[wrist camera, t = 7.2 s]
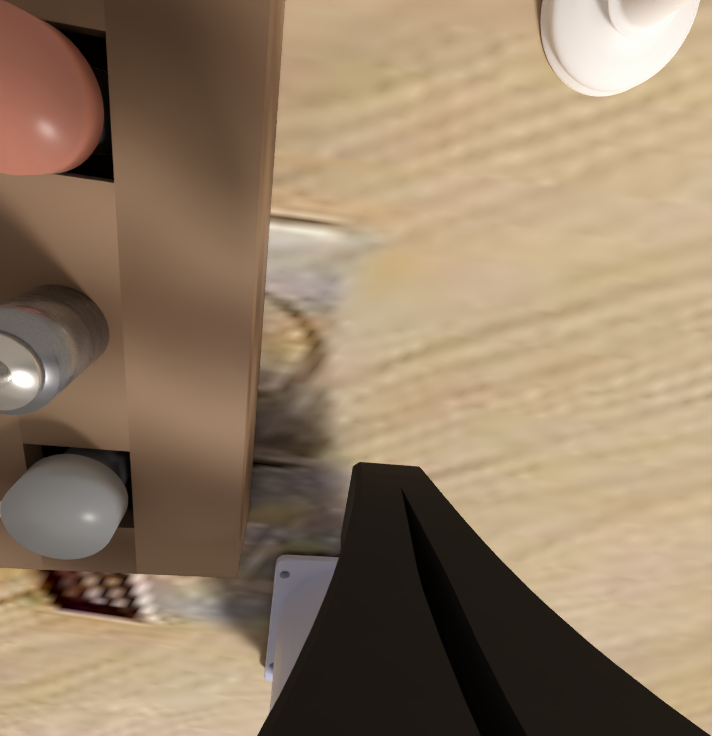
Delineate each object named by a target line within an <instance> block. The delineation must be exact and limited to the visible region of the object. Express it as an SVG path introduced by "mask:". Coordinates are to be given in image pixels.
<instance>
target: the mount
mask: <svg viewBox="0 0 712 736" xmlns="http://www.w3.org/2000/svg"><path fill="white" fill-rule="evenodd" d="M3 1H5V2H8V3H10V4H12V5H14V6H16V7H18V8H20V9H22V10H24V11H26V12H28V13H30V14H31V15H33V16H35V17H37V18H39V19H41V20H43V21H45V22H47V23H49V24H50V25H52V26H53V27H55V28H56V29H59V30H64V31H70V32H75V33H81V34H86V35H91V36H97V37H102V38H106V48H107V65H108V82H109V99H110V117H111V134H112V151H113V168H114V179H108V178H101V177H94V176H87V175H80V174H74V173H67V172H62V173H57V174H41V175H9V174H4V173H0V303H2V302H5V301H7V300H9V299H11V298H14V297H16V296H18V295H20V294H23V293H25V292H27V291H29V290H32V289H34V288H36V287H39V286H43V285H51V284H54V285H63V286H67V287H71V288H73V289H76V290H78V291H80V292H82V293H83V294H85V295H86V296H88V297H89V298H90V299H91V300H93V301H94V302H95V303H96V305H97V306H98V307H99V308H100V309H101V311H102V312H103V314H104V316H105V318H106V320H107V323H108V327H109V342H108V345H107V348H106V350H105V351H104V353H103V354H102V355H101V356H100V357H99V358H98V359H97V360H96V361H95V362H94V363H93V364H91V365H90V366H89V367H88V368H87V369H86V370H85V371H84V372H83V373H81V374H80V375H79V376H78V377H77V378H76V379H75V380H74V381H72V382H71V383H70V384H69V385H68V386H67V387H66V388H65V389H64V390H62V391H61V392H60V393H59V394H58V395H57V396H56V397H55V398H53V399H52V400H51V401H50V402H49V403H48V404H47V405H45V406H44V407H43V408H41V409H39V410H37V411H35V412H32V413H28V414H22V415H7V414H0V502H1V501H2V500H3V497H4V496H5V494H6V493H7V492H8V490H9V489H10V488H11V487H12V486H13V485H14V484H15V483H16V482H17V481H18V480H19V479H20V478H21V477H22V476H23V475H24V473H25V472H26V471H27V470H28V469H29V468H30V467H31V466H32V465H33V464H35V463H36V462H37V461H39V460H41V459H43V451H42V445H50V446H63V447H76V448H89V449H103V450H116V451H129V452H130V462H131V479H132V485H129V484H125V488H126V491H127V494H128V506H127V510H126V512H125V514H124V516H123V518H122V520H121V522H120V524H119V525H118V527H117V529H116V531H115V533H114V534H113V536H112V538H111V540H110V541H109V543H108V544H107V545H106V546H105V547H104V548H103V549H102V550H100V551H99V552H97V553H95V554H93V555H91V556H88V557H85V558H80V559H71V560H64V559H55V558H49V557H46V556H42V555H40V554H37V553H35V552H32V551H30V550H28V549H27V548H25V547H23V546H22V545H21V544H19V543H18V542H17V541H16V540H15V539H13V538H12V536H11V535H10V534H9V533H8V531H7V530H6V528H5V527H4V525H3V522H2V519H1V517H0V568H20V569H43V570H65V571H88V572H110V573H133V574H155V575H178V576H200V577H223V578H236V577H237V572H238V567H239V562H240V557H241V552H242V546H243V541H244V536H245V531H246V526H247V521H248V516H249V511H250V499H251V485H252V470H253V456H254V441H255V427H256V412H257V398H258V384H259V369H260V355H261V340H262V326H263V311H264V297H265V282H266V268H267V253H268V239H269V224H270V210H271V195H272V181H273V167H274V152H275V138H276V123H277V109H278V94H279V80H280V65H281V51H282V36H283V22H284V7H285V0H3Z"/></svg>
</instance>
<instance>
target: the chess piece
mask: <svg viewBox="0 0 712 736" xmlns="http://www.w3.org/2000/svg"><path fill="white" fill-rule="evenodd" d="M699 2H700V0H543V1H542V7H541V20H540V26H541V38H542V43H543V48H544V51H545V54H546V57H547V60H548V62H549V64H550V66H551V68H552V69H553V71H554V72H555V74H556V75H557V76H558V77H559V79H560V80H561V81H562V82H563V83H565V84H566V85H567V86H568V87H570V88H571V89H573V90H575V91H577V92H579V93H582V94H585V95H589V96H610V95H615V94H618V93H621V92H624V91H626V90H629V89H631V88H632V87H634V86H636V85H639V84H641V83H642V82H644V81H646V80H647V79H649V78H651V77H652V76H653V75H655V74H656V73H657V72H658V71H659V70H661V69H662V68H663V67H664V66H665V65H666V64H667V63H668V62H669V61H670V60H671V58H672V57H673V56H674V55H675V53H676V52H677V51H678V49H679V48H680V46H681V45H682V43H683V42H684V40H685V38H686V36H687V35H688V33H689V31H690V29H691V26H692V24H693V22H694V19H695V16H696V13H697V10H698V6H699Z"/></svg>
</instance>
